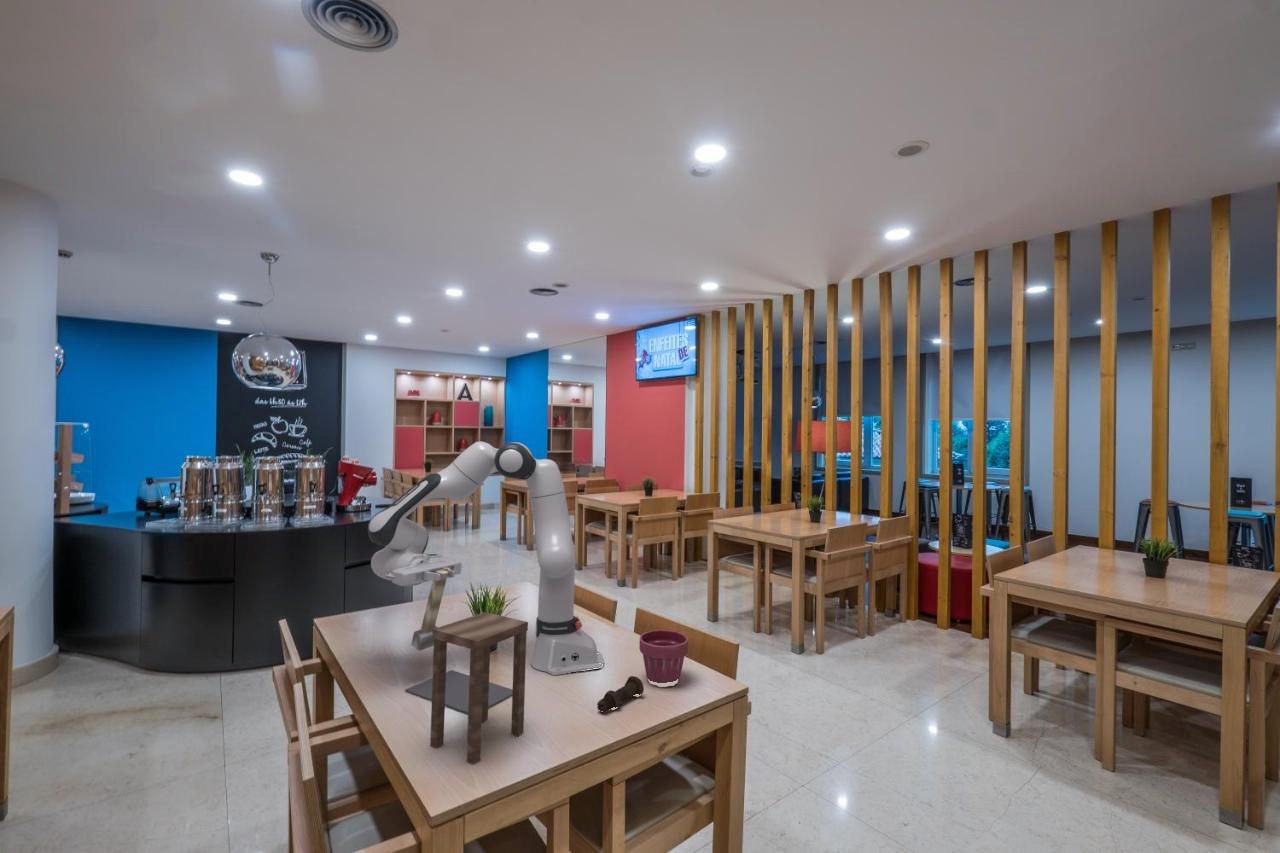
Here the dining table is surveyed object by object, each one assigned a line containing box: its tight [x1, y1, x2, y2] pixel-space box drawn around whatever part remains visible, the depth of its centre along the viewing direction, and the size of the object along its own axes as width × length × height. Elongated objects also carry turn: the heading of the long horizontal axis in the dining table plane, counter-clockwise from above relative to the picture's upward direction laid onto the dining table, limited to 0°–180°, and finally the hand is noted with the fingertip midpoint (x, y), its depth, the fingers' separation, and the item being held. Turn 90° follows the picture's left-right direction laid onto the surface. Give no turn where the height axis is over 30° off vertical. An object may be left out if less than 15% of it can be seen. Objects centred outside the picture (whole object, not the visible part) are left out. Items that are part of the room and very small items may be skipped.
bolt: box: [596, 675, 645, 713], centre depth 150 cm, size 6×5×15 cm
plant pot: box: [639, 629, 689, 683], centre depth 165 cm, size 14×14×13 cm
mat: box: [404, 669, 513, 716], centre depth 155 cm, size 26×16×1 cm, turn 60°
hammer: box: [410, 569, 448, 652], centre depth 160 cm, size 22×7×4 cm
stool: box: [429, 611, 529, 765], centre depth 131 cm, size 14×16×26 cm
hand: (446, 575), depth 158 cm, fingers closed on hammer, 3 cm apart
